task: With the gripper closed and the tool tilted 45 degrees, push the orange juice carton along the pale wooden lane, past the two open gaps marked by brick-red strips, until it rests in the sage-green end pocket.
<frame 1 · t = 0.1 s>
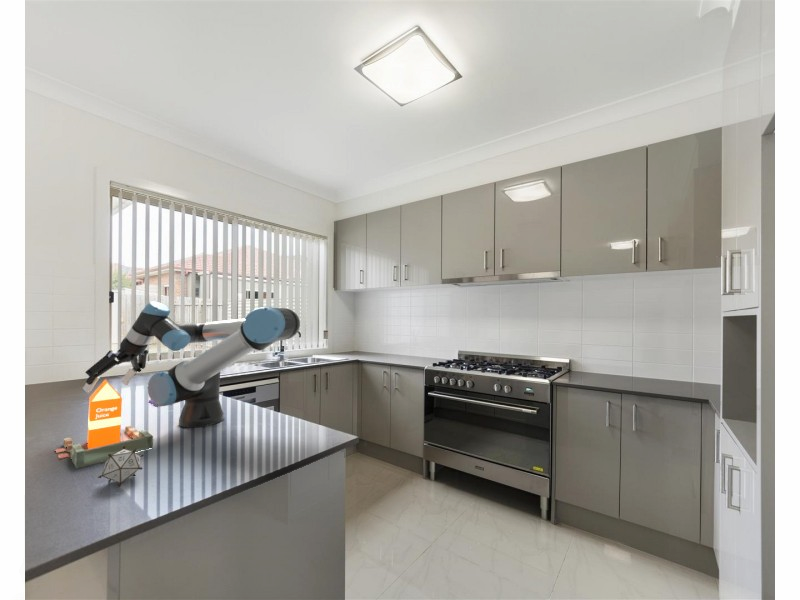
hand: (106, 386, 122), 15 cm above the table, tool tilted 35°, fingers open, 13 cm apart
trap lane: (107, 447, 104), on the table
game die: (121, 482, 82), on the table
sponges: (160, 404, 158), on the table
trap strips: (61, 453, 99), on the table
orange juice: (103, 443, 108), on the table
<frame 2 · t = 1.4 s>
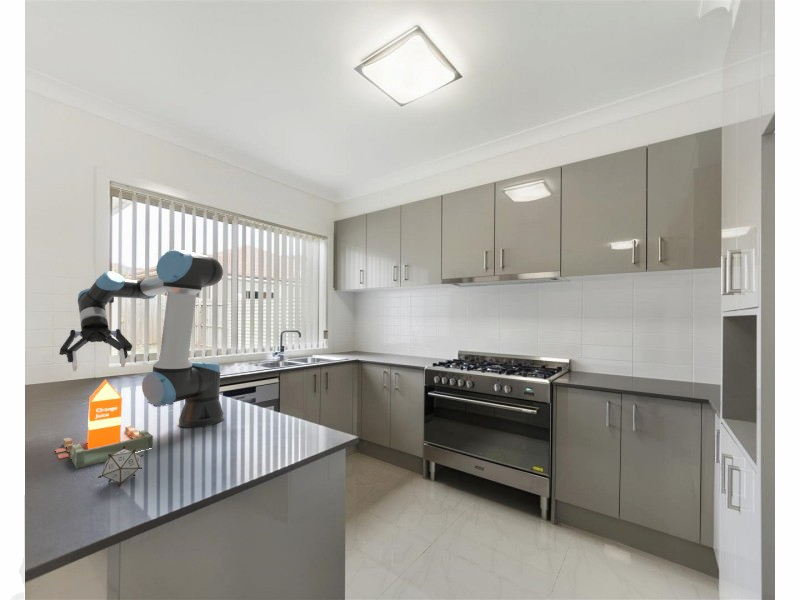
hand: (100, 366, 116), 24 cm above the table, tool tilted 45°, fingers open, 12 cm apart
nothing on the table moved.
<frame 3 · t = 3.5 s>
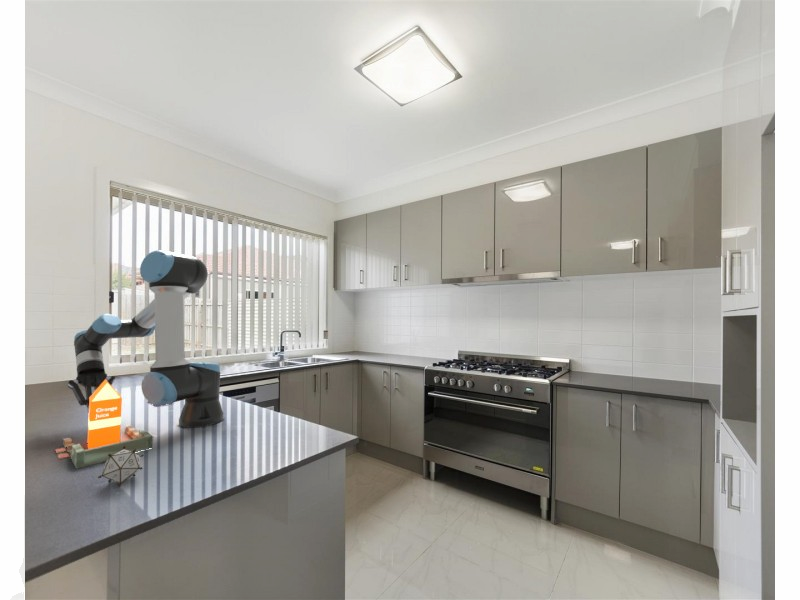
hand: (96, 419, 114), 6 cm above the table, tool tilted 45°, fingers closed
nothing on the table moved.
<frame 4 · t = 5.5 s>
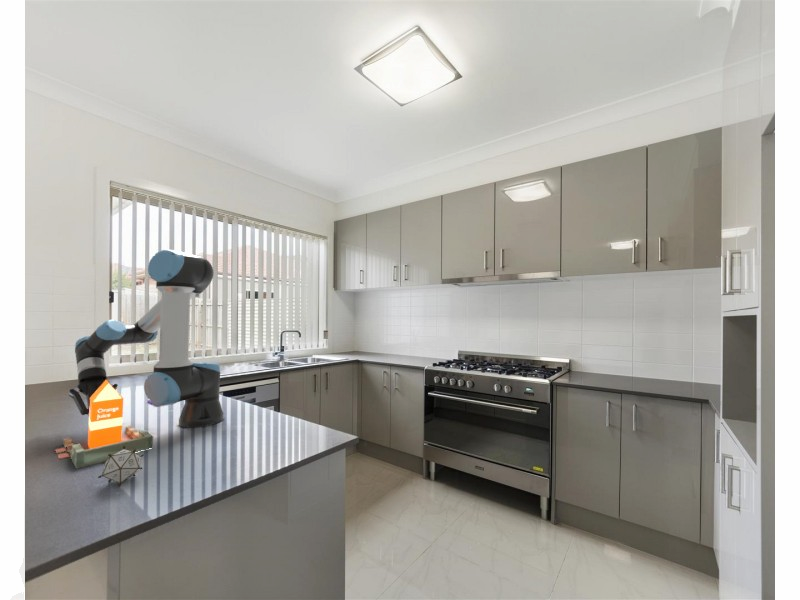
hand: (98, 429, 110), 4 cm above the table, tool tilted 45°, fingers closed
orange juice: (104, 444, 107), on the table, touching gripper
everything else where it was.
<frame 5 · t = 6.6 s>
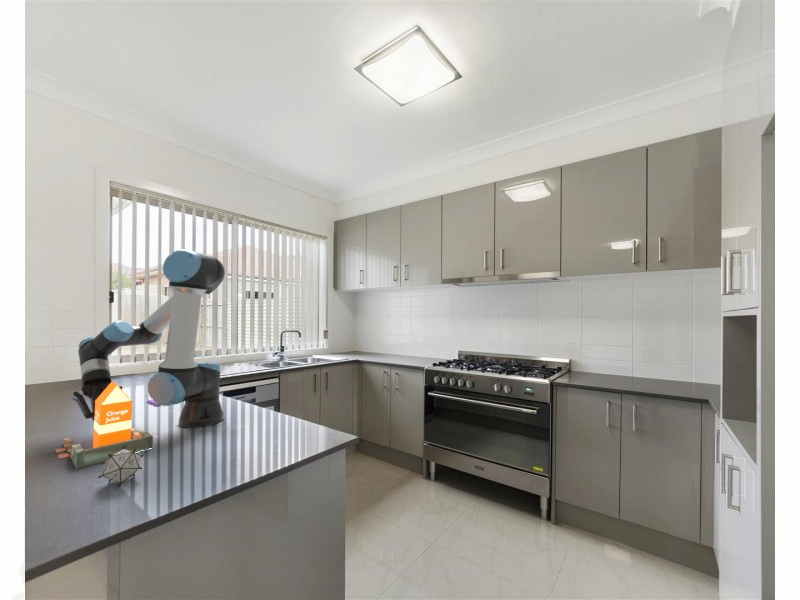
hand: (103, 433, 106), 4 cm above the table, tool tilted 45°, fingers closed
orange juice: (111, 448, 104), on the table, touching gripper
everything else where it was.
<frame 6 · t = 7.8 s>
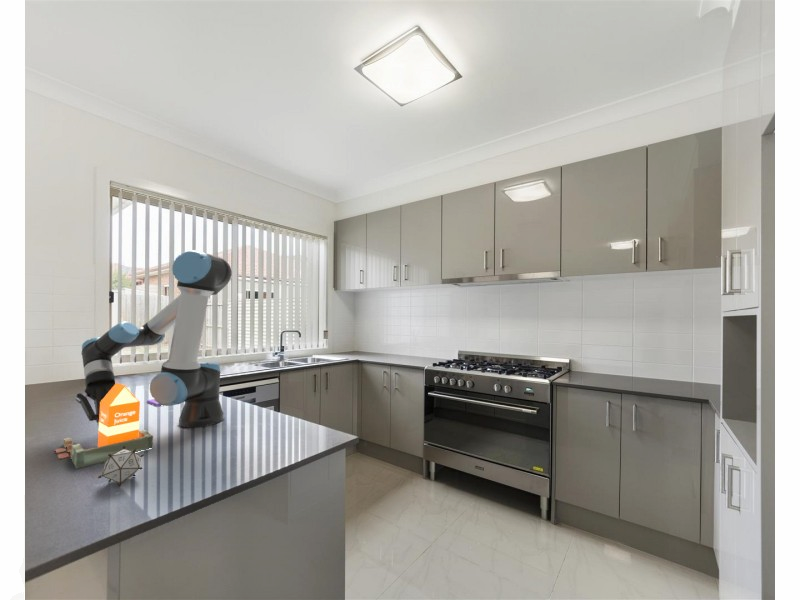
hand: (107, 436, 104), 4 cm above the table, tool tilted 45°, fingers closed
orange juice: (117, 450, 102), on the table, touching gripper
everything else where it was.
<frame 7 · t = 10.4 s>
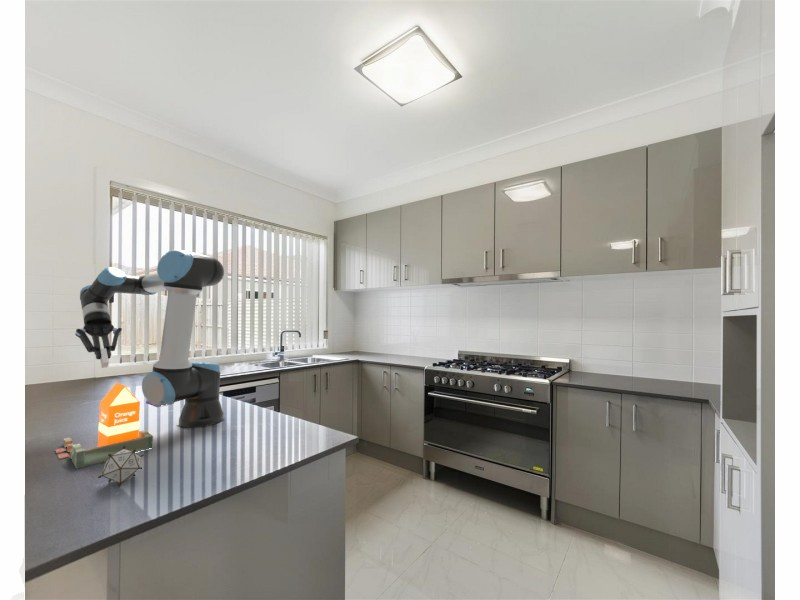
hand: (105, 364, 115), 24 cm above the table, tool tilted 45°, fingers closed
orange juice: (117, 450, 102), on the table
everything else where it was.
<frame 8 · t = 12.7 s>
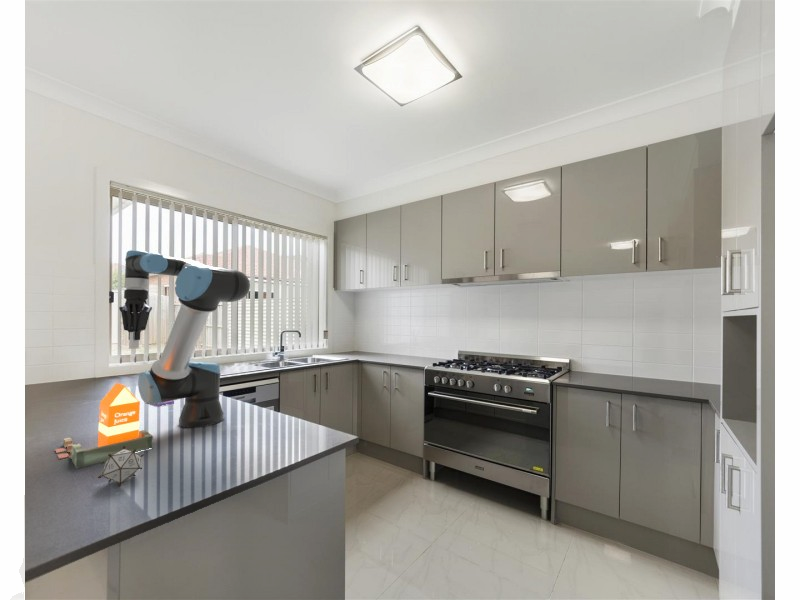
hand: (133, 348, 132), 28 cm above the table, tool pointing down, fingers closed
nothing on the table moved.
at the end: orange juice inside the target area (1.7 cm from its centre), on the table; orange juice tilted 0°; orange juice moved 10.9 cm from its start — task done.
